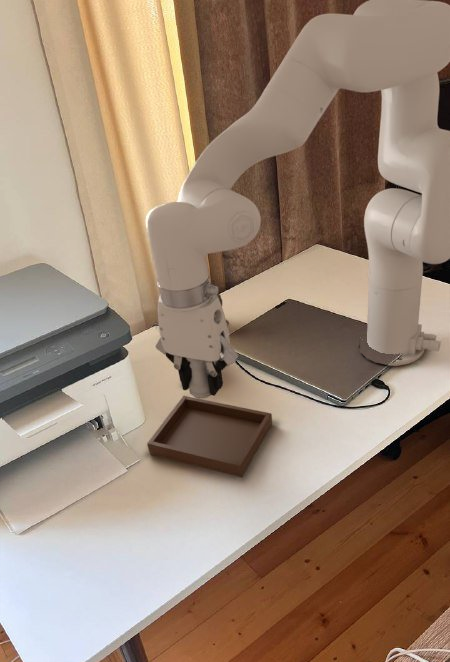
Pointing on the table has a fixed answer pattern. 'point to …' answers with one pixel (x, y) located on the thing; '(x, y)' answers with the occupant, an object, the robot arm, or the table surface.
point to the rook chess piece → (199, 379)
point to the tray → (211, 435)
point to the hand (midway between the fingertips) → (202, 387)
